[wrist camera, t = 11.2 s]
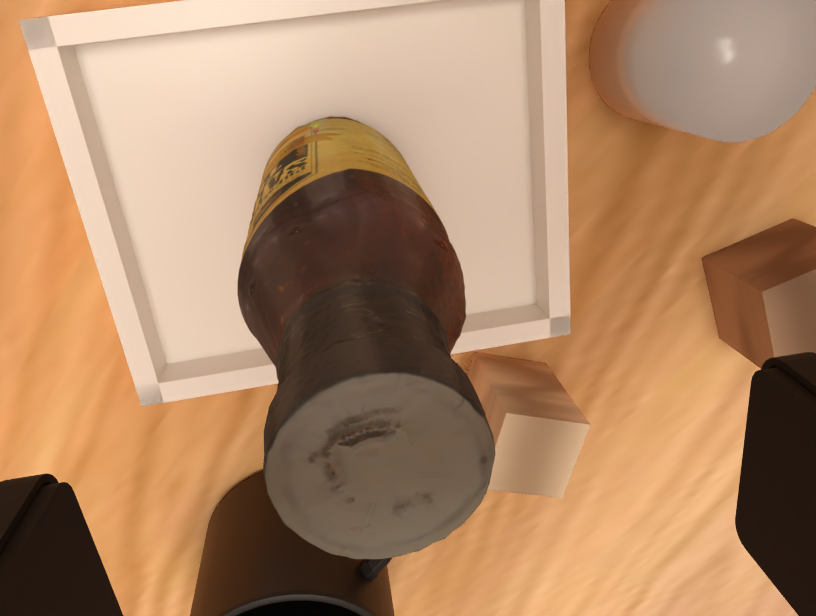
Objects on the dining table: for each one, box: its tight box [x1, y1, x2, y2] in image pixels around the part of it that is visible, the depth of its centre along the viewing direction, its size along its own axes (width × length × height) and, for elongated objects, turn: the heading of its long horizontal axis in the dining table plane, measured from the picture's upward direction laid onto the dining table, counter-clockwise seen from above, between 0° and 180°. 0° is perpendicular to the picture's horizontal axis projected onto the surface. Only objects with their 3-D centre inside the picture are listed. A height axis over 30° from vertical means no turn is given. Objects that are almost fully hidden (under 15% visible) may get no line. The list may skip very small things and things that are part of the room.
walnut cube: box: [702, 219, 816, 368], centre depth 32 cm, size 5×5×5 cm
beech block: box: [467, 352, 590, 498], centre depth 32 cm, size 4×4×6 cm
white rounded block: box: [589, 0, 816, 143], centre depth 26 cm, size 6×6×7 cm
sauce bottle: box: [237, 116, 496, 559], centre depth 20 cm, size 7×6×20 cm
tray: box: [19, 0, 571, 406], centre depth 29 cm, size 20×16×2 cm
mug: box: [190, 472, 394, 616], centre depth 32 cm, size 9×12×9 cm
